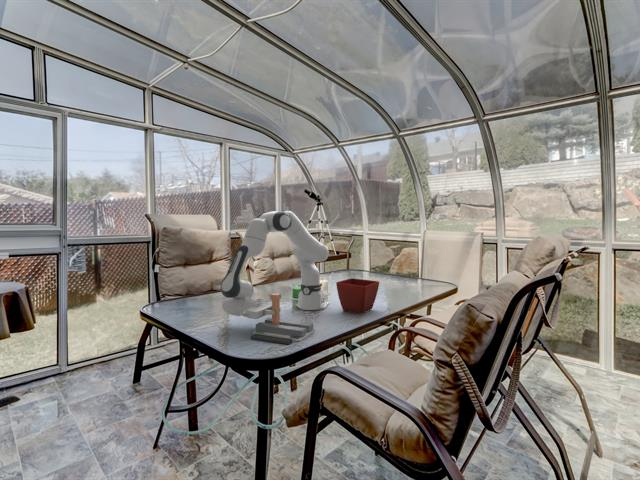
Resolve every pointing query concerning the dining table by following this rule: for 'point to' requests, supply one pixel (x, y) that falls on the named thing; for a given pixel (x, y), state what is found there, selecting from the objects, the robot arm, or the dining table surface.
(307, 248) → the robot arm
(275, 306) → the breaker handle
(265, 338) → the twin grey rods
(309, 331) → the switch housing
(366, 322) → the dining table surface
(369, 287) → the plant pot
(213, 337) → the dining table surface
